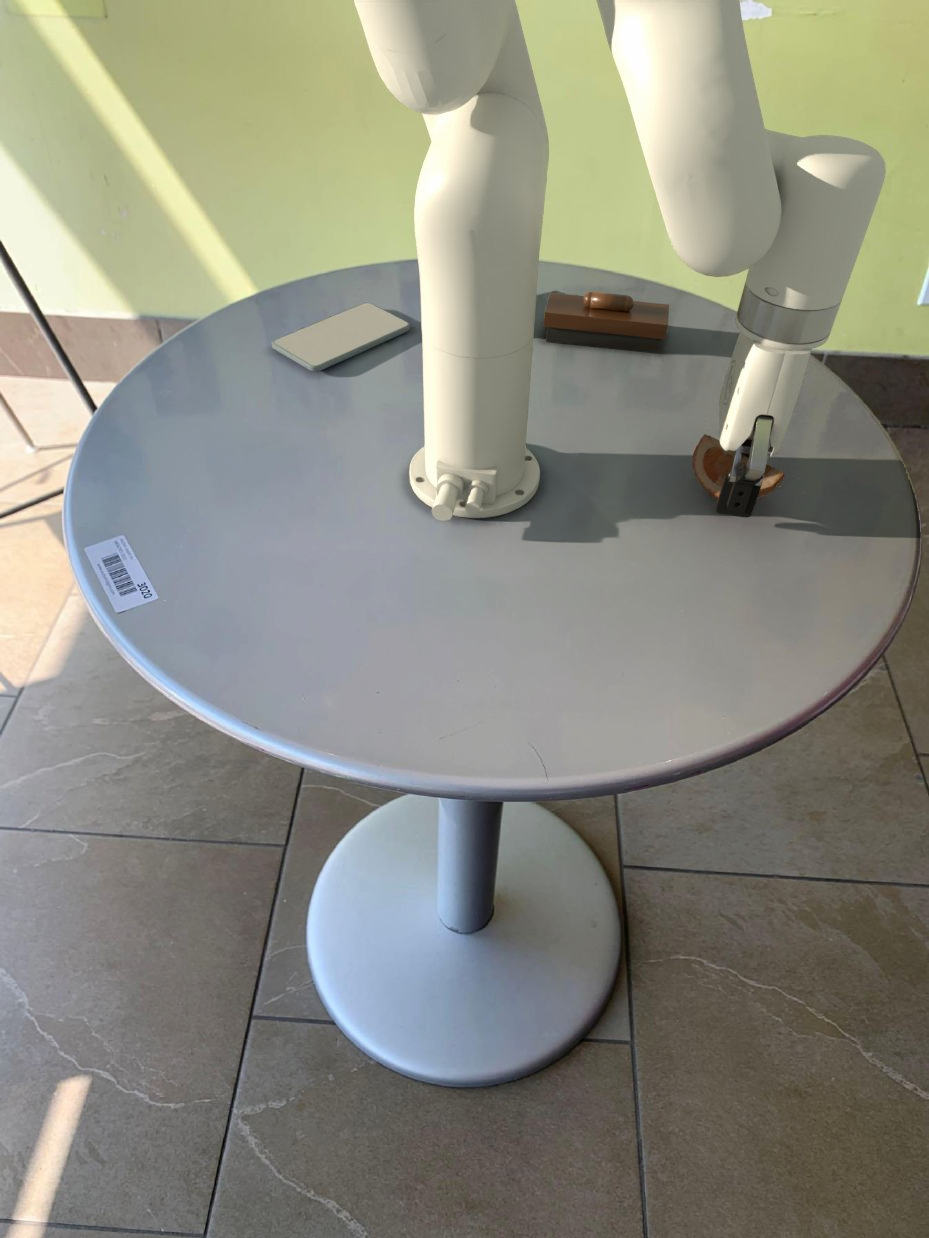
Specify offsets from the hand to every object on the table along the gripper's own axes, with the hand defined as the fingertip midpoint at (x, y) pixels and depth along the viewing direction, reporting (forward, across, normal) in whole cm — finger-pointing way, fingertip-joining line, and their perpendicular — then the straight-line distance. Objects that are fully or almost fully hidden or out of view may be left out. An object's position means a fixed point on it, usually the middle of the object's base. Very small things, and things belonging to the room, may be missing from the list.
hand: (732, 485), depth 85 cm
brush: (+2, -28, -14) cm, 32 cm away
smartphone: (+3, -21, -44) cm, 49 cm away
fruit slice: (+1, 0, 0) cm, 1 cm away
